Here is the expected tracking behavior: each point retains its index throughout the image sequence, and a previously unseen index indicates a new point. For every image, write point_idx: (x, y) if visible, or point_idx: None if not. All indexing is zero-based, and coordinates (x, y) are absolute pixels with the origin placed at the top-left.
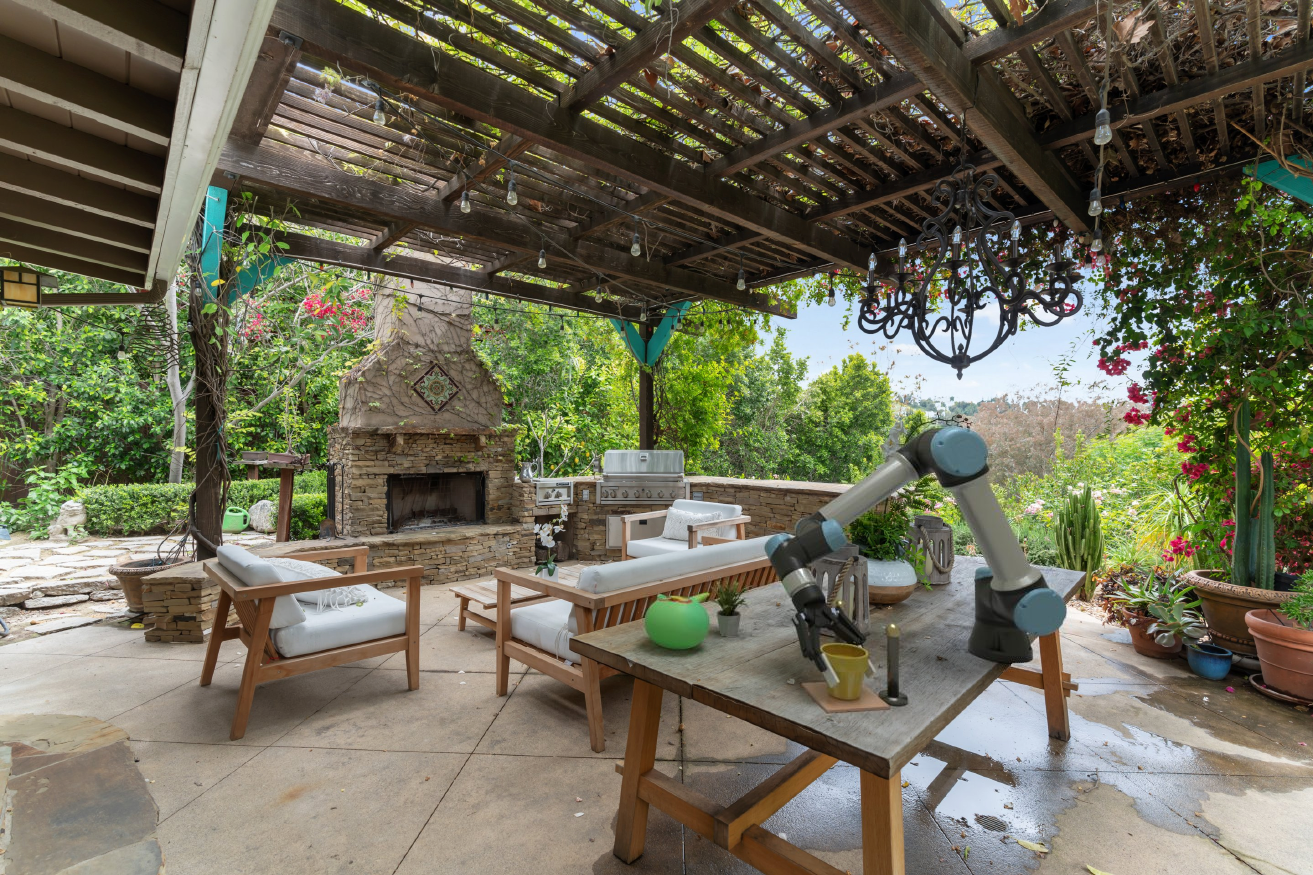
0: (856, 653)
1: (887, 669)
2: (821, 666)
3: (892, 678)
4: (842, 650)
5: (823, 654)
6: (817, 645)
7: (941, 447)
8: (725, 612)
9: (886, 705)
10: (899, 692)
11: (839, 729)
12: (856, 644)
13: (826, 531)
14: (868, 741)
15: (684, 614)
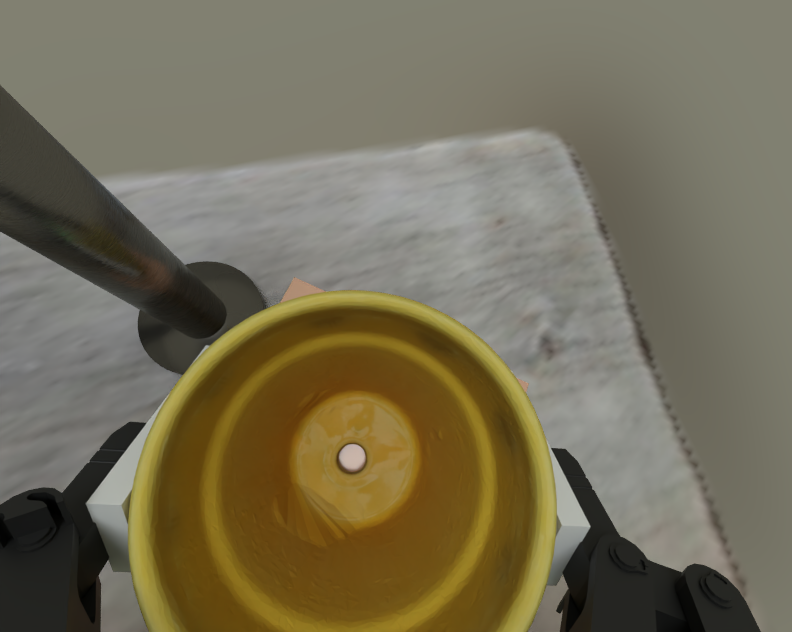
0: (182, 491)
1: (168, 288)
2: (578, 471)
3: (191, 273)
4: (220, 615)
5: (570, 518)
6: (624, 624)
7: None
8: None
9: (299, 288)
10: (146, 319)
11: (566, 284)
12: (79, 559)
13: None
14: (540, 197)
15: None
